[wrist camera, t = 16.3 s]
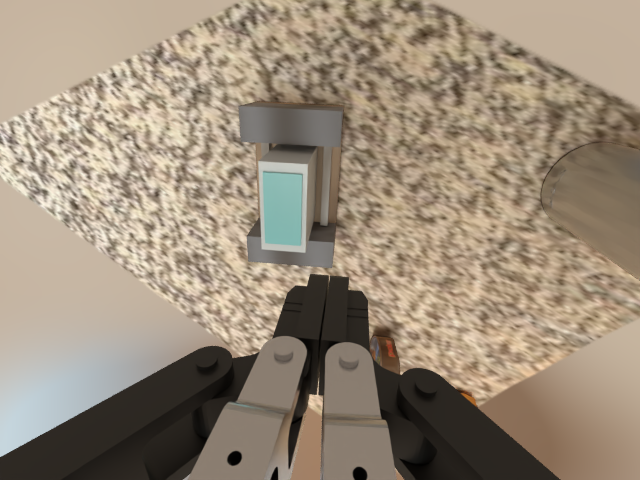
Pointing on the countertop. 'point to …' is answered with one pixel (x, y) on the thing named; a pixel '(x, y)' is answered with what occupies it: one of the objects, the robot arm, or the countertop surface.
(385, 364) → the tin
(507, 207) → the countertop surface
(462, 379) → the countertop surface
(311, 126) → the rack
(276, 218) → the block
